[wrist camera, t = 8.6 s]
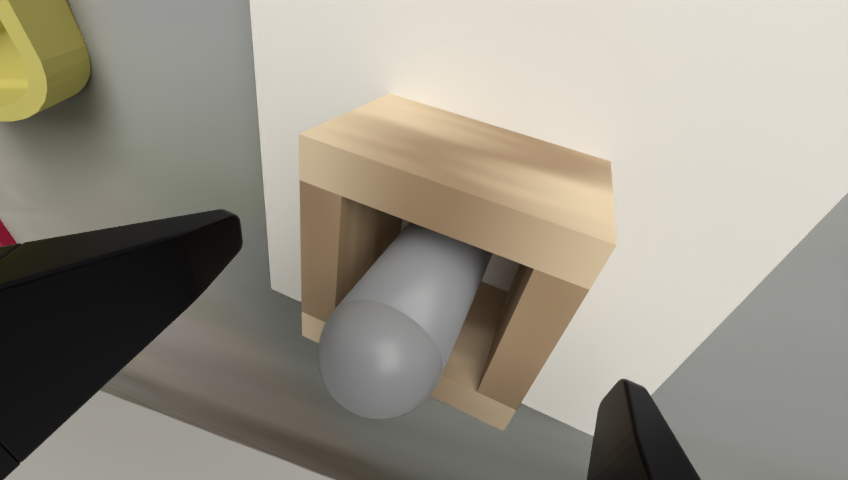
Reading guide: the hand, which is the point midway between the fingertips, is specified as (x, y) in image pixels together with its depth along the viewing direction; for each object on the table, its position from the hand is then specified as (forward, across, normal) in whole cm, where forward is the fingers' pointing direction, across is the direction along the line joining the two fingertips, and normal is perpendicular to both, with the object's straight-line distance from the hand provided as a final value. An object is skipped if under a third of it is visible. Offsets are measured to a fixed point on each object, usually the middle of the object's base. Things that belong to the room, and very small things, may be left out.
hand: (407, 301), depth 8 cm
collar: (+4, 0, 0) cm, 4 cm away
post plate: (+6, 0, 0) cm, 6 cm away
